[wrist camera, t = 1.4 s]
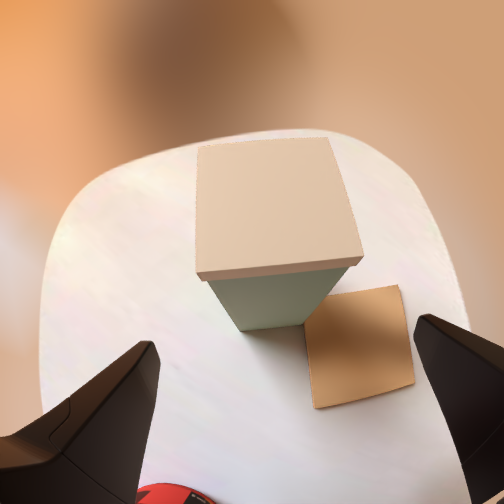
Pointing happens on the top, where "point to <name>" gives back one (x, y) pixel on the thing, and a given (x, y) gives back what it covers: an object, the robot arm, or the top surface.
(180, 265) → the top surface
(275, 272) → the tea tin
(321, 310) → the coaster
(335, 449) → the top surface
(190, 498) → the canned food
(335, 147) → the top surface
